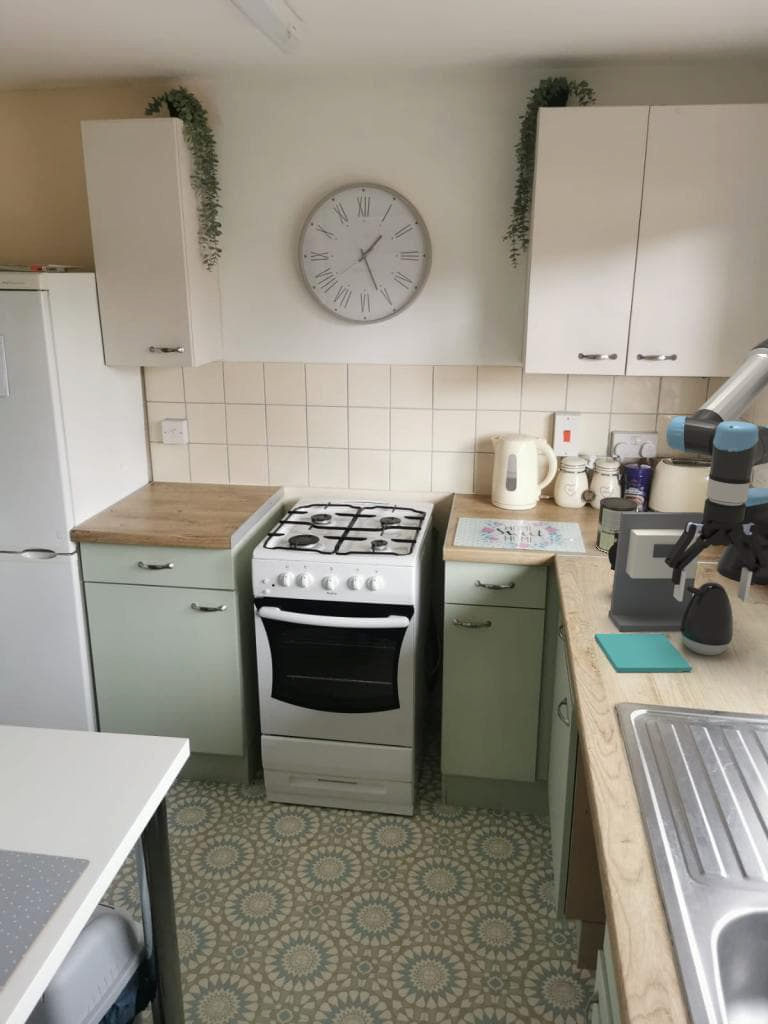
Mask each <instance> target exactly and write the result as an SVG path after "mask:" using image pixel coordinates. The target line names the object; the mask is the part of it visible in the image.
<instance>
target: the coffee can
mask: <svg viewBox="0 0 768 1024" xmlns="http://www.w3.org/2000/svg"><path fill="white" fill-rule="evenodd" d="M638 505H639V504H638V502H637V501H636V500H633V499H630V498H625V497H616V496H615V497H614V496H612V497H611V496H609V497H604V498H601V499H600V500H599V514H598V515H599V516H598V522H597V523H598V524H597V534H596V543H595V548H596V547H597V548H599V549H600V550H603V551H606V552H609V549H610V547H611V546H612V545H613V544H614V535H615V533H616V532H619V527H620V518H621V512H638V511H637V510H638ZM597 548H596V549H597Z"/></svg>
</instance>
